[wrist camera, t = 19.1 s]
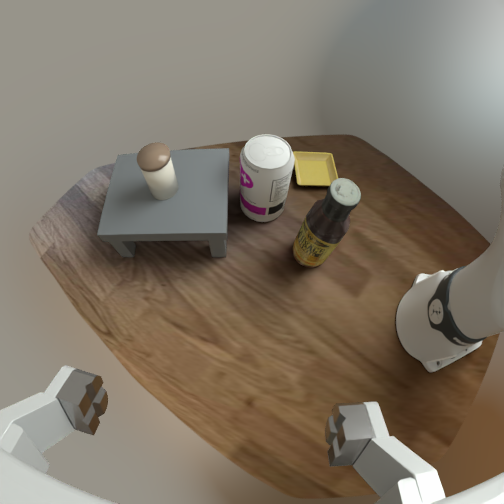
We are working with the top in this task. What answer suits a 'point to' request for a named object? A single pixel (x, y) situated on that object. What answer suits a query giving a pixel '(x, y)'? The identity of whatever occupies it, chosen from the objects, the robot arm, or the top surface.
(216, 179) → the footstool
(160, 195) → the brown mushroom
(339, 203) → the sauce bottle
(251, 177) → the supplement can
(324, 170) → the yellow shallow tray
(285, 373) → the top surface
